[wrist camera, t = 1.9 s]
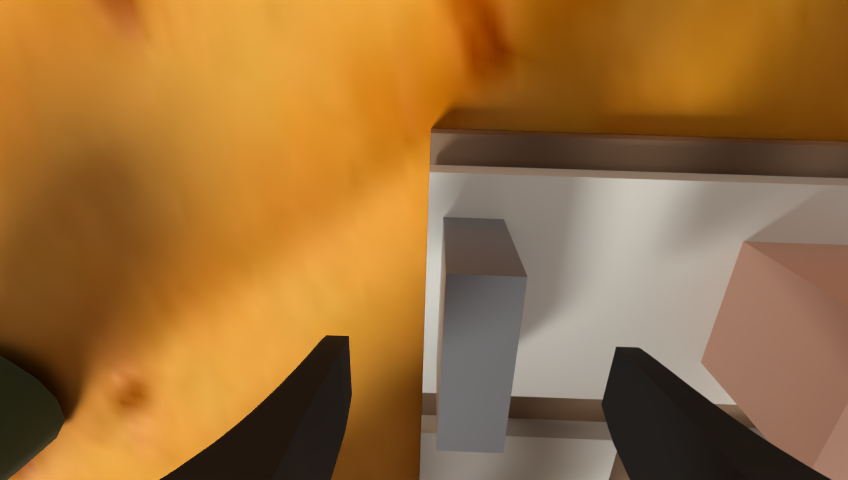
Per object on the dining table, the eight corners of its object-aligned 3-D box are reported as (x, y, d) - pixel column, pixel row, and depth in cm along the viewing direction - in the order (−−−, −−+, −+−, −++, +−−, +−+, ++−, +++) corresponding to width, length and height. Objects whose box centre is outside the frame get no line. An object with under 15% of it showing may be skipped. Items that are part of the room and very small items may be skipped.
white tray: (423, 375, 18) (418, 484, 14) (429, 164, 15) (427, 216, 10) (903, 393, 18) (1063, 510, 13) (1030, 184, 14) (1308, 245, 10)
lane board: (418, 517, 24) (416, 556, 22) (431, 128, 15) (430, 138, 14) (785, 532, 24) (814, 573, 22) (1000, 146, 15) (1078, 159, 13)
